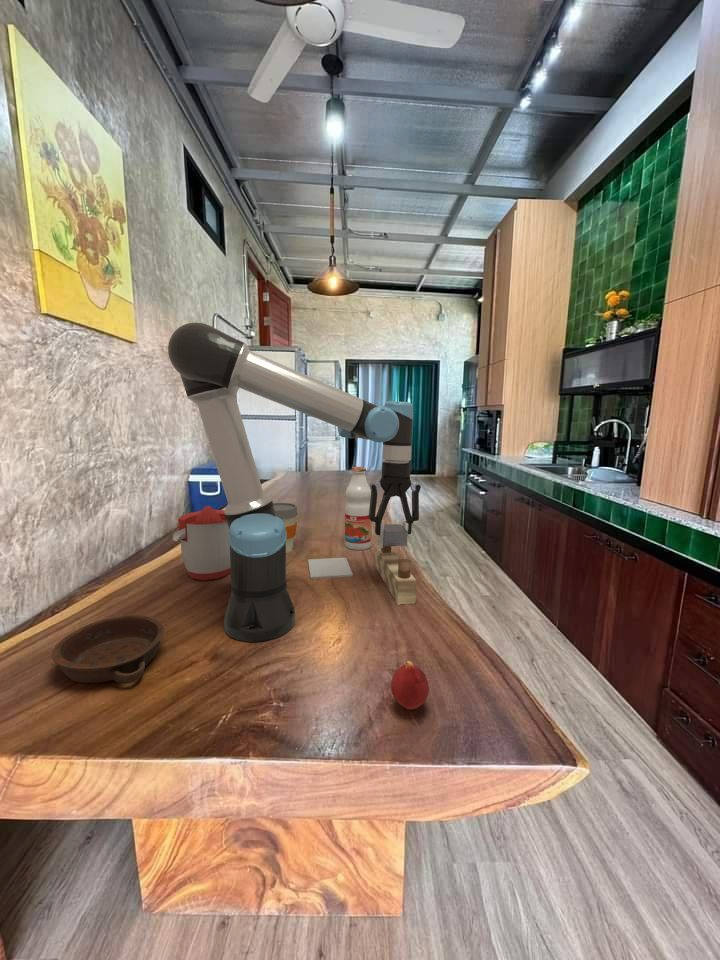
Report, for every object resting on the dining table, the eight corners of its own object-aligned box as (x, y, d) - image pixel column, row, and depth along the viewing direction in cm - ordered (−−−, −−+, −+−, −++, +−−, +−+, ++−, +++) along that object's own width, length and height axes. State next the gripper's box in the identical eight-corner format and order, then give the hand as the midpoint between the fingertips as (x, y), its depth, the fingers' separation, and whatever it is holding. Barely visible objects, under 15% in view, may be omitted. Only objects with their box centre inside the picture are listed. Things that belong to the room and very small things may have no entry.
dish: (71, 718, 61) (67, 688, 60) (43, 657, 76) (40, 633, 75) (186, 667, 73) (184, 642, 72) (142, 623, 88) (141, 602, 87)
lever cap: (407, 545, 106) (407, 531, 105) (384, 546, 105) (385, 531, 104) (399, 537, 113) (400, 524, 112) (379, 538, 112) (379, 524, 111)
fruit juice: (375, 544, 144) (377, 467, 139) (363, 552, 135) (364, 470, 131) (352, 540, 148) (353, 465, 143) (339, 547, 140) (340, 468, 135)
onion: (424, 695, 66) (425, 650, 65) (431, 721, 61) (433, 673, 59) (388, 695, 66) (390, 650, 65) (392, 721, 60) (394, 673, 59)
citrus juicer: (167, 573, 116) (163, 505, 113) (225, 559, 127) (223, 497, 124) (186, 591, 104) (181, 516, 101) (248, 574, 116) (246, 506, 112)
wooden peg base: (415, 603, 99) (417, 553, 97) (397, 605, 98) (399, 553, 96) (389, 565, 124) (390, 524, 122) (375, 566, 123) (376, 524, 121)
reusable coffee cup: (253, 553, 133) (252, 509, 131) (272, 542, 145) (271, 501, 143) (287, 557, 130) (286, 512, 127) (304, 545, 141) (303, 504, 139)
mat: (352, 576, 115) (352, 574, 115) (310, 579, 113) (310, 576, 113) (346, 559, 128) (346, 557, 128) (308, 561, 126) (308, 559, 126)
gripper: (426, 460, 111) (421, 541, 114) (358, 459, 107) (355, 542, 111) (435, 463, 104) (430, 549, 107) (363, 462, 100) (360, 551, 104)
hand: (392, 545), depth 109 cm, fingers closed on lever cap, 6 cm apart
